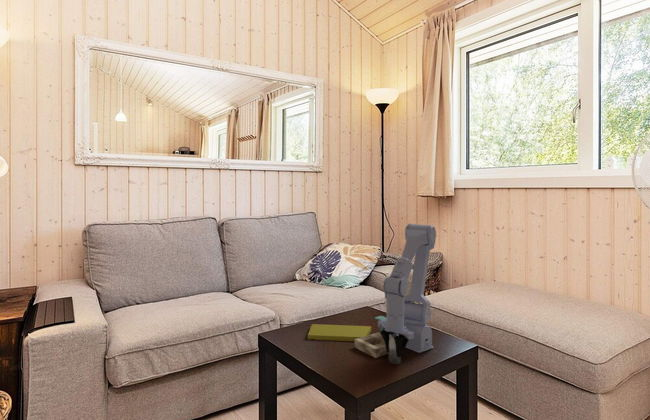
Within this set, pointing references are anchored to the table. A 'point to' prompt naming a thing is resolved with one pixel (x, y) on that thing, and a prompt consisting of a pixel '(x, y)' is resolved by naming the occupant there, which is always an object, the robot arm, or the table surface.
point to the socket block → (372, 345)
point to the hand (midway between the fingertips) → (394, 354)
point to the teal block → (380, 320)
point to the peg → (393, 349)
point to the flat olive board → (338, 332)
